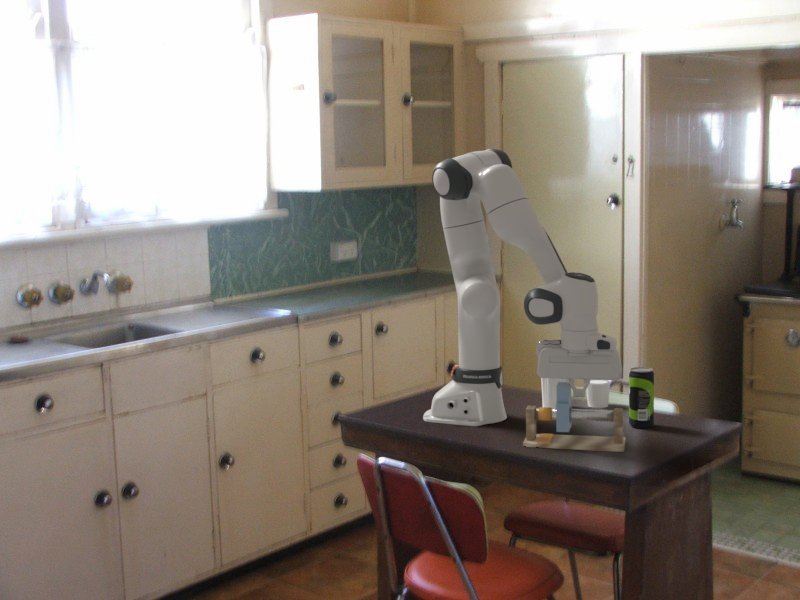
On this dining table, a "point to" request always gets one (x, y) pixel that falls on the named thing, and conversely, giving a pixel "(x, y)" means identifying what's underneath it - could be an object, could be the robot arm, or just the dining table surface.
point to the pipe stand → (575, 440)
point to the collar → (563, 407)
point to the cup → (550, 391)
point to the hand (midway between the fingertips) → (579, 396)
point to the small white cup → (598, 393)
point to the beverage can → (641, 397)
